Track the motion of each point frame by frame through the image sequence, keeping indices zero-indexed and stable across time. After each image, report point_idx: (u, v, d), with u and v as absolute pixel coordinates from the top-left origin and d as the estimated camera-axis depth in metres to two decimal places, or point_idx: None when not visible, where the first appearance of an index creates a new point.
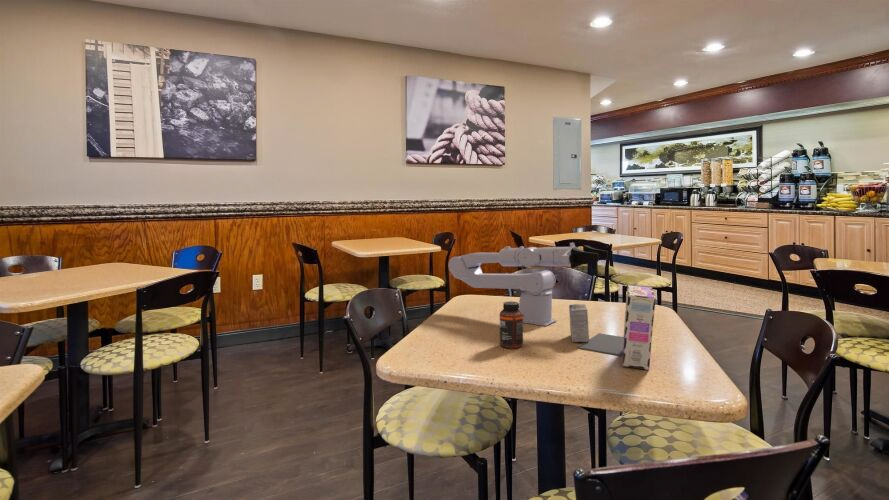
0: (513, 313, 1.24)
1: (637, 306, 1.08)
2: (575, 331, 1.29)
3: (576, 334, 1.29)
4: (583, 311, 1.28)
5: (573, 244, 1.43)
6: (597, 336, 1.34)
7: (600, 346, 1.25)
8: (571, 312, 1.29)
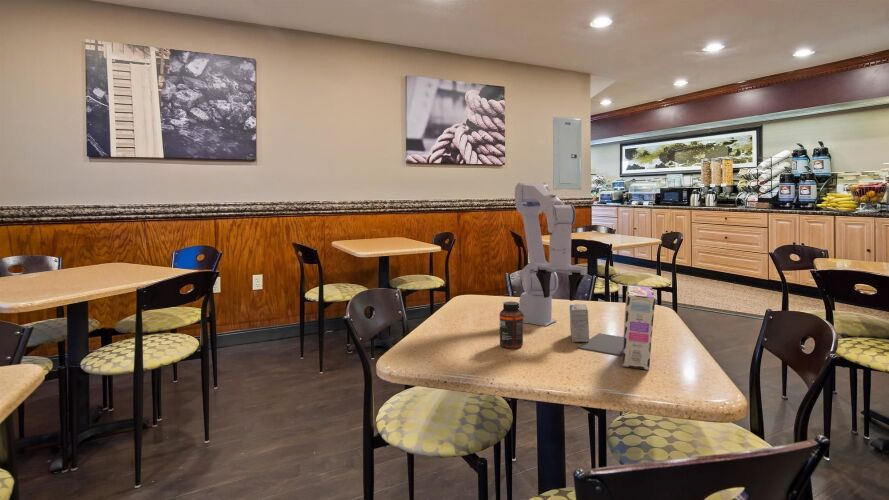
0: (513, 313, 1.24)
1: (637, 306, 1.08)
2: (575, 331, 1.29)
3: (576, 334, 1.29)
4: (583, 311, 1.28)
5: None
6: (597, 336, 1.34)
7: (600, 346, 1.25)
8: (572, 312, 1.29)
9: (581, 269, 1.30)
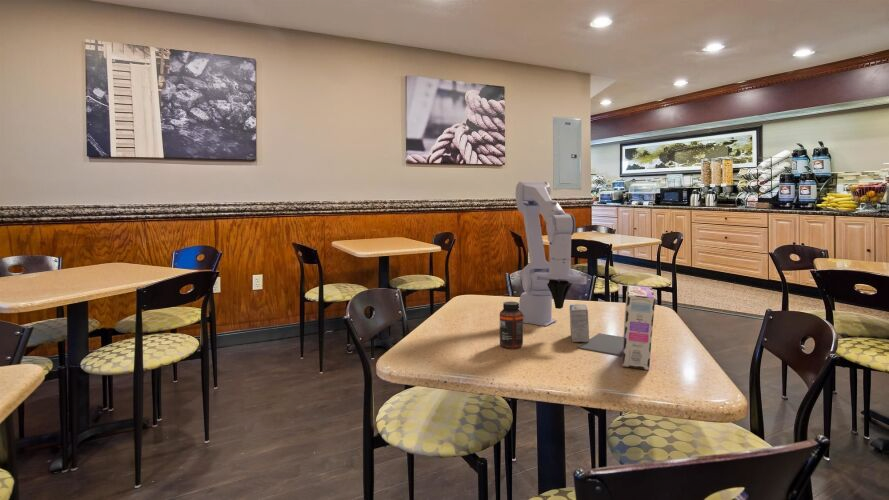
0: (513, 313, 1.24)
1: (637, 306, 1.08)
2: (575, 331, 1.29)
3: (576, 334, 1.29)
4: (583, 311, 1.28)
5: (555, 278, 1.32)
6: (597, 336, 1.34)
7: (600, 346, 1.25)
8: (572, 312, 1.29)
9: (581, 279, 1.30)
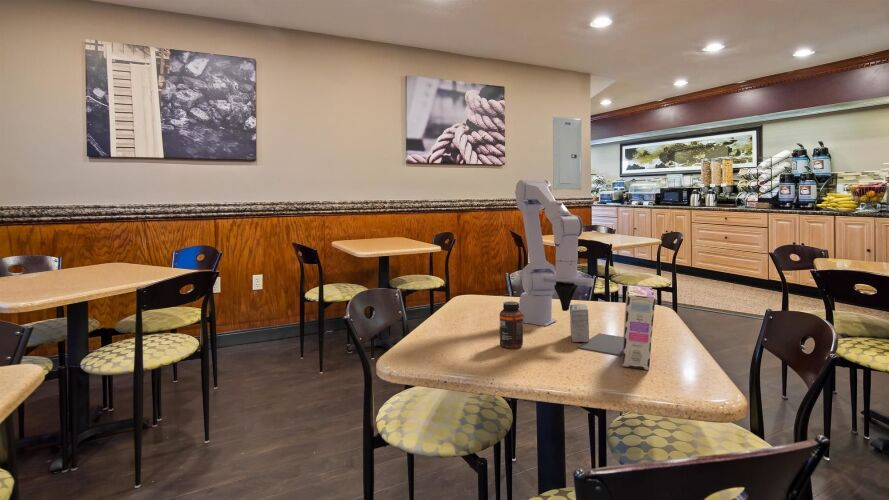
0: (513, 313, 1.24)
1: (637, 306, 1.08)
2: (575, 331, 1.29)
3: (576, 334, 1.29)
4: (584, 311, 1.28)
5: (562, 280, 1.31)
6: (597, 336, 1.34)
7: (600, 346, 1.25)
8: (572, 312, 1.29)
9: (588, 281, 1.29)
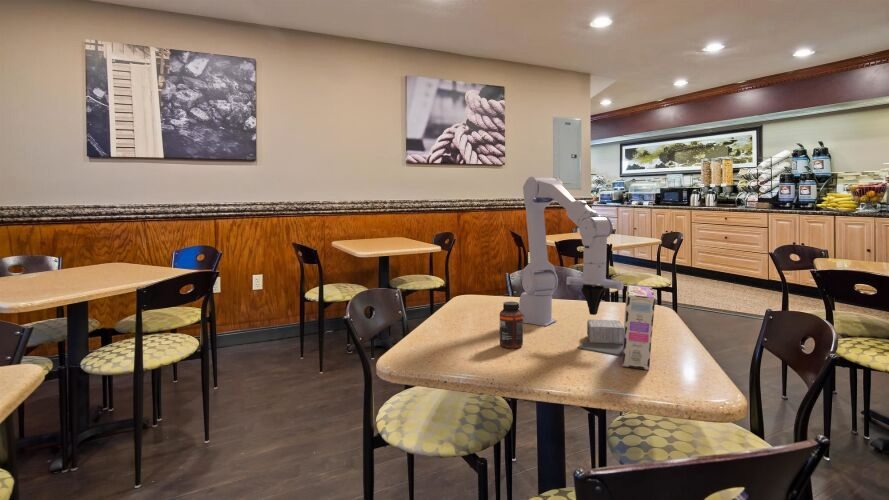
0: (513, 313, 1.24)
1: (637, 306, 1.08)
2: (601, 330, 1.28)
3: (598, 331, 1.28)
4: (622, 340, 1.27)
5: None
6: None
7: (600, 346, 1.25)
8: (622, 328, 1.27)
9: (618, 284, 1.24)
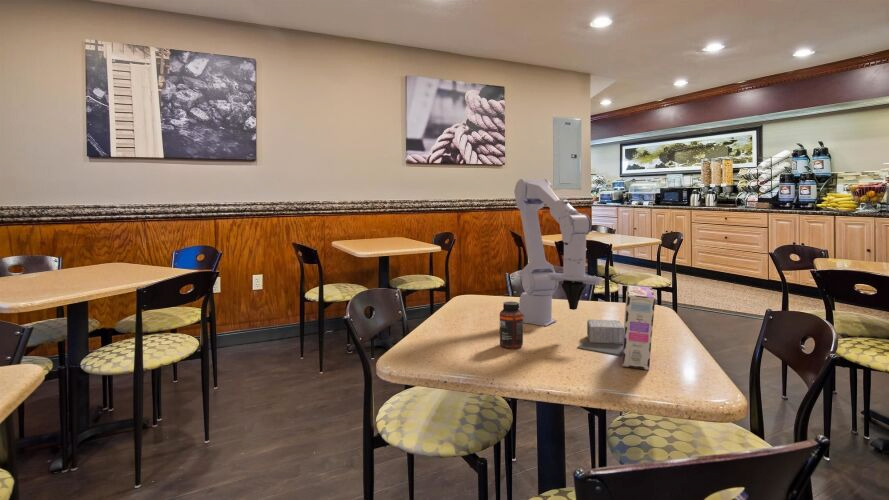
0: (513, 313, 1.24)
1: (637, 306, 1.08)
2: (601, 330, 1.28)
3: (598, 331, 1.28)
4: (622, 340, 1.27)
5: None
6: None
7: (600, 346, 1.25)
8: (622, 328, 1.27)
9: (596, 280, 1.29)
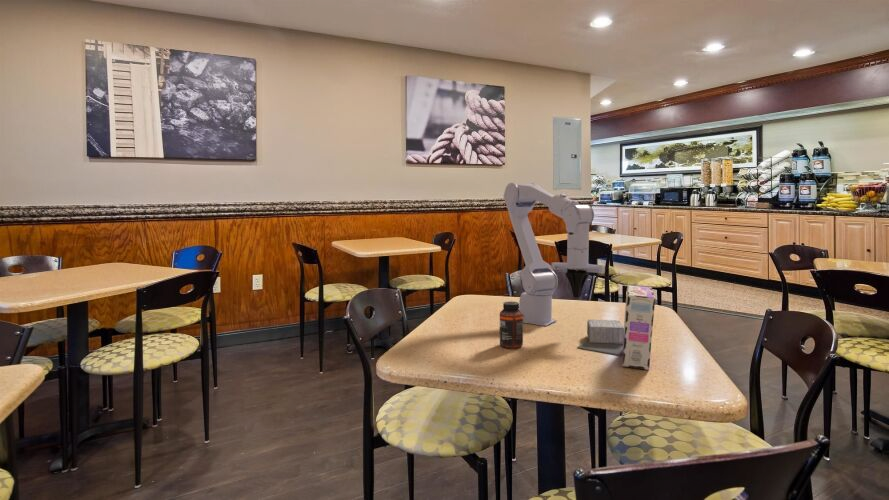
0: (513, 313, 1.24)
1: (637, 306, 1.08)
2: (601, 330, 1.28)
3: (598, 331, 1.28)
4: (622, 340, 1.27)
5: None
6: None
7: (600, 346, 1.25)
8: (622, 328, 1.27)
9: (599, 268, 1.32)
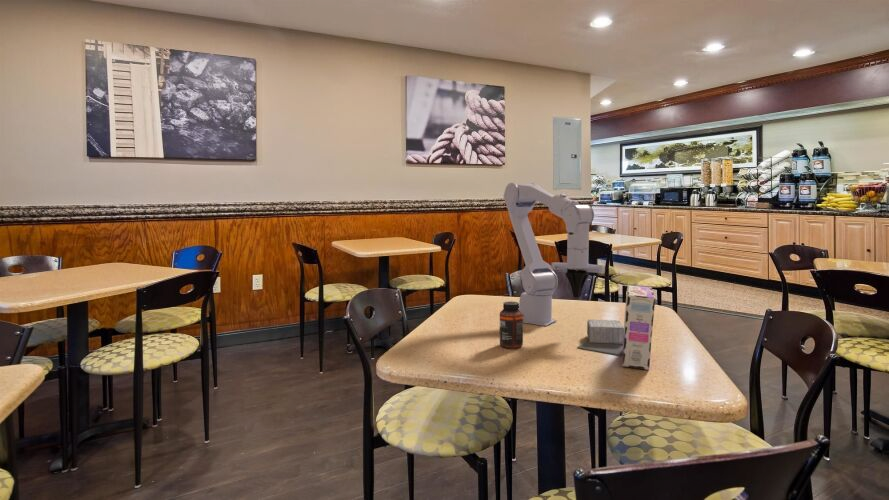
0: (513, 313, 1.24)
1: (637, 306, 1.08)
2: (601, 330, 1.28)
3: (598, 331, 1.28)
4: (622, 340, 1.27)
5: None
6: None
7: (600, 346, 1.25)
8: (622, 328, 1.27)
9: (599, 268, 1.32)
